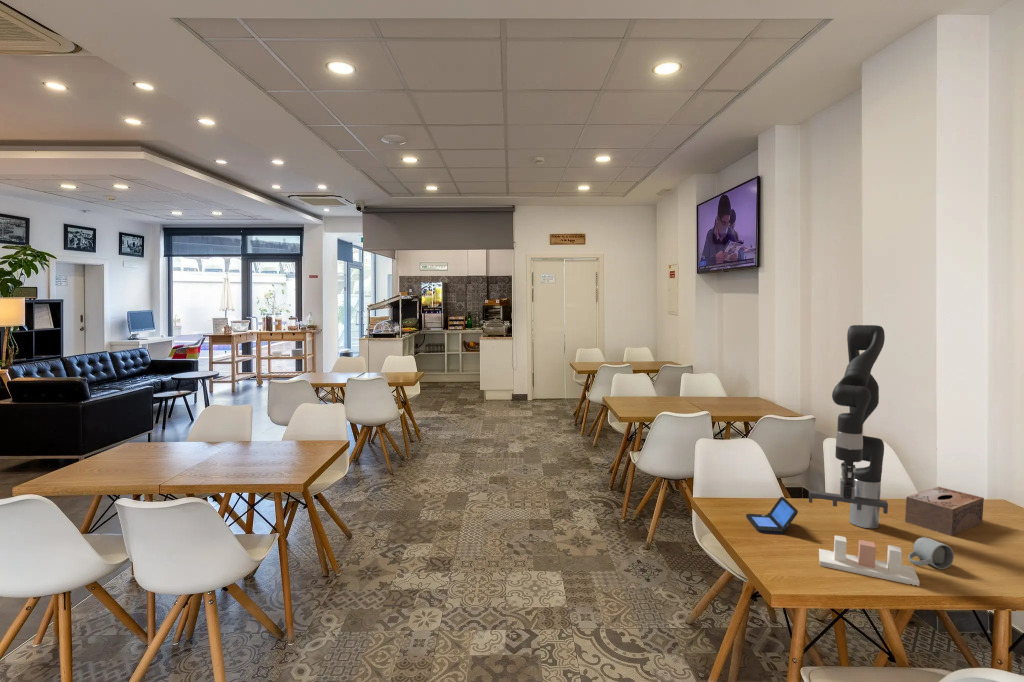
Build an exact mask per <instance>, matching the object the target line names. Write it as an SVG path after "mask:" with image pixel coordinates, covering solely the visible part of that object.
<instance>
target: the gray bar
mask: <svg viewBox="0 0 1024 682" xmlns="http://www.w3.org/2000/svg"><path fill="white" fill-rule="evenodd" d="M846 483H850V484H851V482H846ZM843 484H844V480H843V479H842V477H841V478H840V479H839V493H832V492H824V491H819V490H818V491H817V490H816V491H815V490H808V503H809V504H813V499H817V500H819V499H820V500H825V501H826V500H827V501H832V506H833V507H838V502H841V503H847V504H850V503H853V504H857V510H861V507H862V505H868V506H875V507H880V508H882V513H883V514H886V515H888V513H889V512H888V508H889V502H888V501H887V500H885V499H884V500H883V499H880V500H877V499H870V498H862V497H855V481H854V482H853V485H854V487H853V488H852V497H851V499H846V498H844V496H843V495H844V486H843Z"/></svg>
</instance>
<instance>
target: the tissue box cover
mask: <svg viewBox="0 0 1024 682" xmlns="http://www.w3.org/2000/svg"><path fill="white" fill-rule="evenodd" d="M905 498H906V499H905V501H906V502H905V503H906V504H905V515H904V516H905V518H904V519H905V520H904V522H905V523H907V524H910V525H914V526H917V527H919V528H923V529H927V530H930V531H933V532H936V531H937V533H939V534H944V535H946V536H951V537H952V536H954V535H956V534H960V533H961V532H964V531H966V530H968V529H971V528H973V527H976V526H978V525H980V524H982V523H983V518H984V513H983V512H984V499H985V498H984V497H982V496H978V495H974V494H971V493H966V492H962V491H957V490H954V489H950V488H946V487H942V486H937V487H932V488H931V489H927V490H924V491H920V492H917V493H914V494H911V495H908V496H906V497H905Z"/></svg>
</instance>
